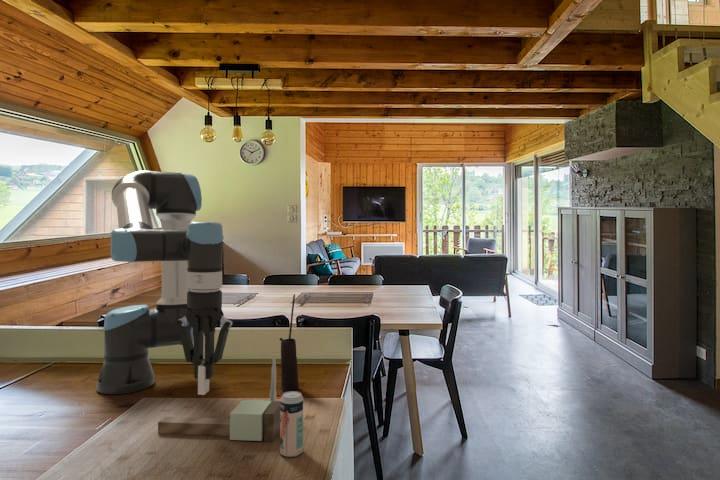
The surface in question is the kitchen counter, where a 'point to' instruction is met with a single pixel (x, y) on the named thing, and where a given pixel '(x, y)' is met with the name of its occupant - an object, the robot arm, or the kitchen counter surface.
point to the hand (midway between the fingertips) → (203, 392)
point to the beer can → (291, 424)
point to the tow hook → (273, 382)
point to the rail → (218, 425)
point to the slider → (248, 420)
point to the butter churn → (289, 361)
